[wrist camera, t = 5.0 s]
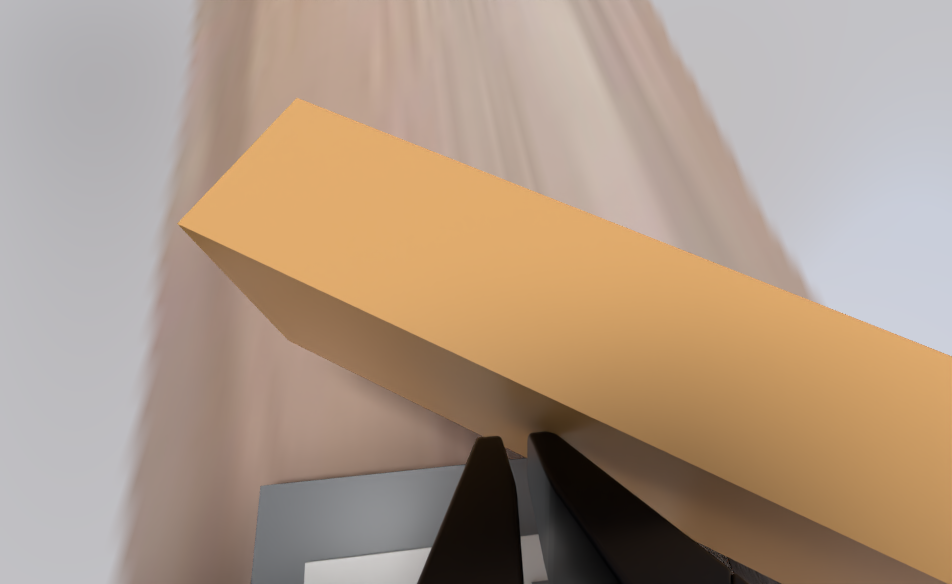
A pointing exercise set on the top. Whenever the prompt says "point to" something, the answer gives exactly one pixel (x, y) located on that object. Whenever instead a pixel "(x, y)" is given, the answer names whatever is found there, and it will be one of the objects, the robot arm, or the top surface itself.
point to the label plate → (369, 527)
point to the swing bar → (597, 349)
